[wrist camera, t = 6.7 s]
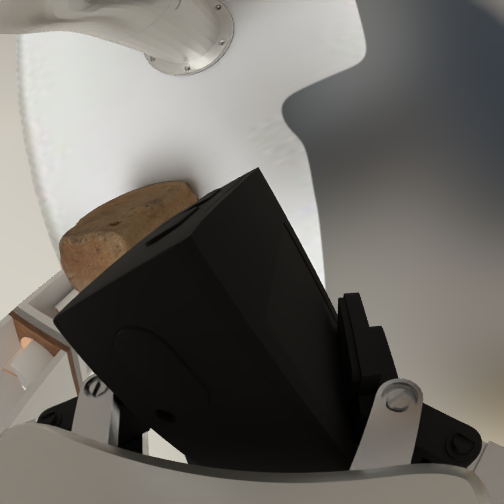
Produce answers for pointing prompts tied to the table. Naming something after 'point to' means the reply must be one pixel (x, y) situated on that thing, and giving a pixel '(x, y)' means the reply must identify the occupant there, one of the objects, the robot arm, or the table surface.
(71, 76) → the table surface
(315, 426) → the digital camera
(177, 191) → the brown rounded lump
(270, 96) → the table surface
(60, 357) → the toilet paper holder
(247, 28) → the table surface
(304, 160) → the table surface
